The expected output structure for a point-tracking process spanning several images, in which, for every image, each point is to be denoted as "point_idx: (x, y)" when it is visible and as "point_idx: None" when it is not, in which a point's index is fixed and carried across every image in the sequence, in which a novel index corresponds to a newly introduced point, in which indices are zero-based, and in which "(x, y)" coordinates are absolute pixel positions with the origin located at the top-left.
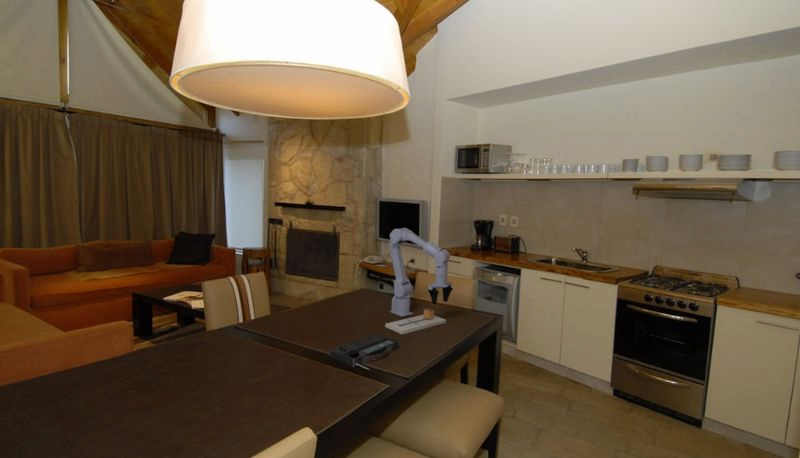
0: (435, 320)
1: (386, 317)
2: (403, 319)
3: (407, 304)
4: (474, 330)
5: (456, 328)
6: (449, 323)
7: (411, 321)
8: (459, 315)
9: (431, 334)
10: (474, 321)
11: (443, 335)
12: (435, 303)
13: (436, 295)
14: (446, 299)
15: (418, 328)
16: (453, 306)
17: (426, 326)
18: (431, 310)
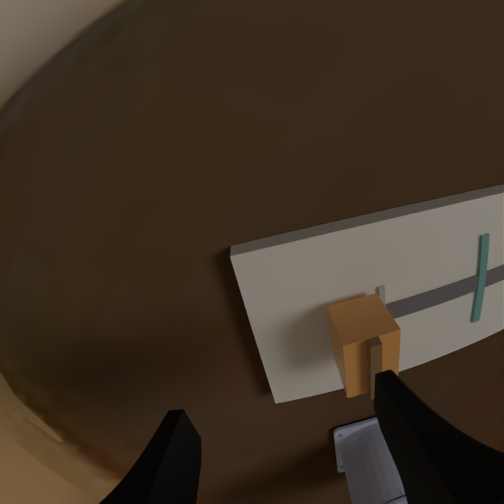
0: (330, 269)
1: (463, 400)
2: (478, 340)
3: (391, 465)
4: (113, 13)
5: (224, 87)
6: (209, 221)
7: (482, 293)
8: (64, 338)
9: (470, 77)
10: (14, 202)
11: (412, 16)
12: (395, 373)
13: (458, 451)
14: (178, 434)
15: (499, 188)
16: (64, 436)
17: (443, 201)
18: (379, 341)
